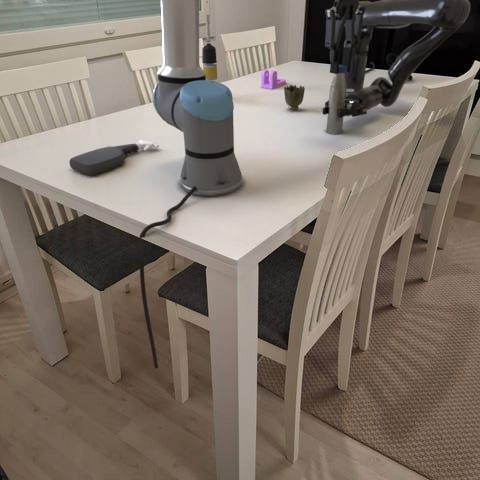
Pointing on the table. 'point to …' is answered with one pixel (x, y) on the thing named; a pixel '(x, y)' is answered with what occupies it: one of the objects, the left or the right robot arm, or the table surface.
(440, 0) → the right robot arm
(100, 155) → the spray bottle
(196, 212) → the table surface
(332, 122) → the bottle
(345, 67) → the cap
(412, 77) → the squiggle
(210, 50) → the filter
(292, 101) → the cup
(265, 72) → the bracket
